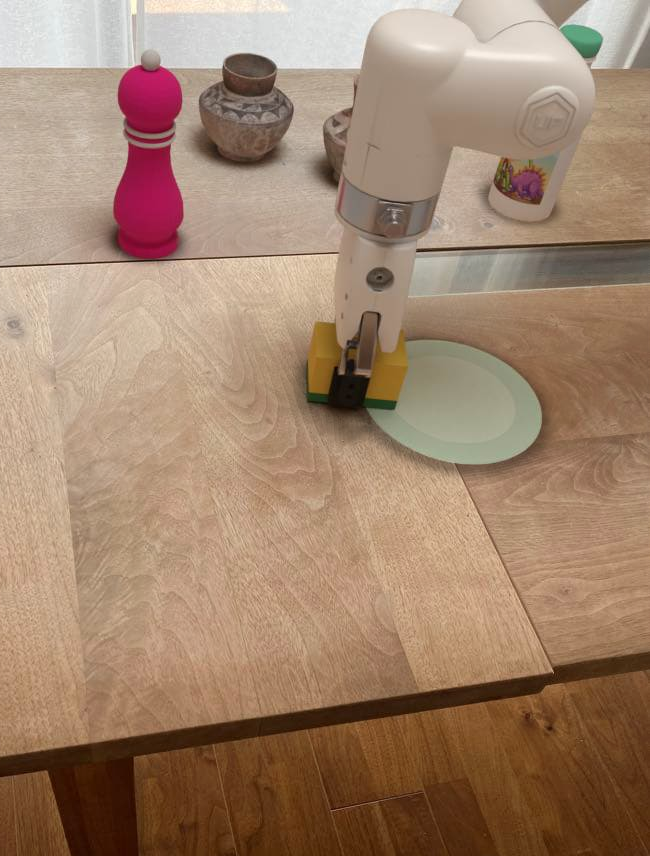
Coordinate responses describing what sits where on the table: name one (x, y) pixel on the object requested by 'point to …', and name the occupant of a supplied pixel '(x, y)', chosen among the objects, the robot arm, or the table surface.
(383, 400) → the sponge
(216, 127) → the pottery
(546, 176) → the milk bottle
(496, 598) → the table surface
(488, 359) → the plate
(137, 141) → the pepper mill
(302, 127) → the table surface
